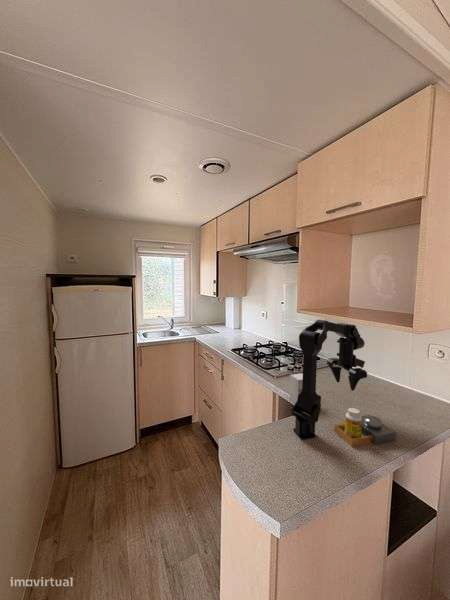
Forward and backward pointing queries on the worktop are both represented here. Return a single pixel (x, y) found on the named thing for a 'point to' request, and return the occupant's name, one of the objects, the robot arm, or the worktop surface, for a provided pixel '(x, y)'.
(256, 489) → the worktop surface
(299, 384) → the supplement box
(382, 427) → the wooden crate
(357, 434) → the supplement bottle
